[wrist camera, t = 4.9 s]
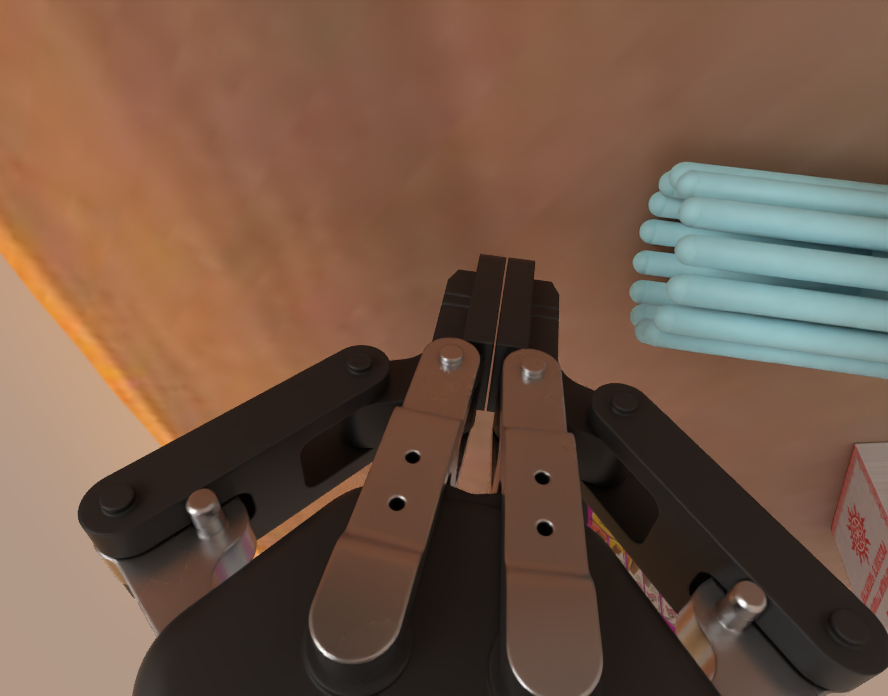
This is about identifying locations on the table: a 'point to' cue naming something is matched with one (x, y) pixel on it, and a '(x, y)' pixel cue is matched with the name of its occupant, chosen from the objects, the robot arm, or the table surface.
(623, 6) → the table surface
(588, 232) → the table surface
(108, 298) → the table surface
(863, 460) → the white printed box
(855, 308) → the blue rod cluster
